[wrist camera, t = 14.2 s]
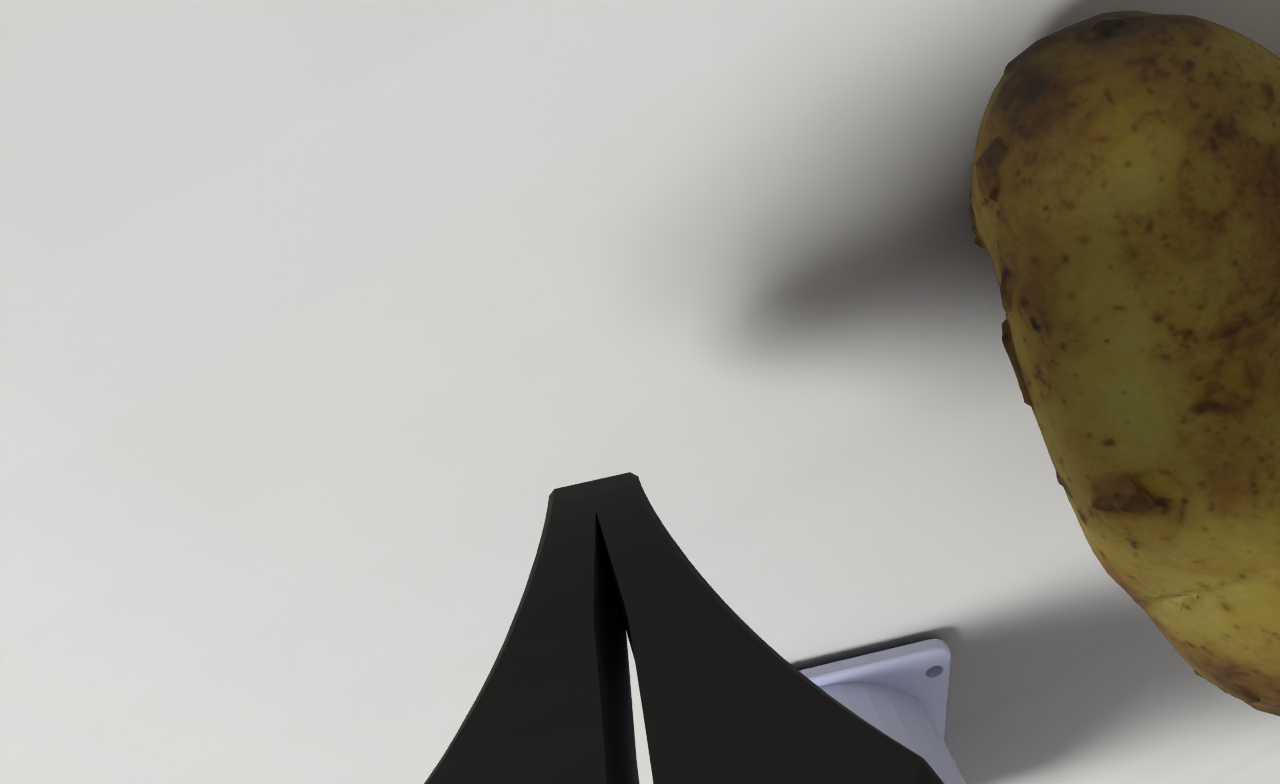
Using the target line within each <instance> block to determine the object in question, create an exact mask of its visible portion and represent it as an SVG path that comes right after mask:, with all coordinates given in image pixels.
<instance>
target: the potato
mask: <svg viewBox="0 0 1280 784" xmlns="http://www.w3.org/2000/svg"><path fill="white" fill-rule="evenodd" d="M970 197H971V205H970V208H969V211H970V215H971V218H972V220H973V222H974V224H973V226H972V229H973V231H974V233H975V235H976V239H975V243H976V244H977V245H979V246H980V247H984V248H986V249H987V251H988V252H989V254H990V256H991V259H992V263H993V266H994V269H995V272H996V276H997V279H998V282H999V286H1000V291H1001V297H1002V303H1003V309H1005V312H1006V317H1007V319H1006V320H1005V321H1004V322H1003V323H1002V341H1003V344H1004V347H1005V349H1006V352H1007V354H1008V356H1009V358H1010V361H1011V364H1012V366H1013V369H1014V371H1015V374H1016V377H1017V380H1018V383H1019V386H1020V390H1021V391H1022V394H1023V398H1024V402H1025V403H1026V404H1028V405H1030V406H1031V407H1032V409H1033V412H1034V414H1035V417H1036V419H1037V422H1038V425H1039V428H1040V430H1041V433H1042V436H1043V438H1044V441H1045V444H1046V446H1047V449H1048V452H1049V454H1050V457H1051V459H1052V462H1053V464H1054V467H1055V469H1056V475H1057V479H1058V482H1059V484H1061V485H1062V486H1063V487H1064V489H1065V492H1066V494H1067V496H1068V499H1069V502H1070V503H1071V505H1072V508H1073V510H1074V512H1075V514H1076V517H1077V519H1078V521H1079V523H1080V526H1081V528H1082V530H1083V532H1084V535H1085V537H1086V539H1087V541H1088V543H1089V545H1090V546H1091V548H1092V550H1093V552H1094V554H1095V555H1096V557H1097V558H1098V560H1099V561H1100V563H1101V564H1102V566H1103V567H1104V569H1105V570H1106V572H1107V573H1108V574H1109V575H1110V576H1111V577H1112V578H1113V579H1114V580H1115V581H1116V582H1117V583H1118V584H1119V585H1120V586H1121V587H1122V588H1123V589H1124V590H1125V591H1126V592H1127V593H1128V594H1129V595H1130V596H1131V597H1132V598H1133V600H1134V601H1135V602H1136V603H1137V604H1139V605H1140V606H1141V607H1142V608H1143V609H1144V611H1145V612H1146V613H1147V614H1148V616H1149V617H1150V618H1151V619H1152V621H1153V622H1154V623H1155V625H1156V626H1157V627H1158V628H1159V630H1160V631H1161V632H1162V633H1163V634H1164V636H1165V637H1166V638H1167V639H1168V640H1169V642H1170V643H1171V644H1172V645H1173V647H1174V648H1175V649H1176V650H1177V651H1178V652H1179V653H1180V654H1181V656H1182V657H1183V658H1184V659H1185V660H1186V661H1187V662H1188V663H1189V664H1190V665H1191V666H1192V667H1193V669H1194V671H1195V673H1196V675H1199V676H1201V677H1203V678H1205V679H1207V680H1208V681H1210V682H1211V683H1213V684H1214V685H1216V686H1217V687H1219V688H1220V689H1221V690H1223V691H1224V692H1226V693H1229V694H1231V695H1232V696H1234V697H1236V698H1238V699H1241V700H1242V701H1244V702H1245V703H1247V704H1248V705H1250V706H1252V707H1253V708H1255V709H1257V710H1259V711H1263V712H1267V713H1270V714H1274V715H1278V716H1280V58H1279V57H1277V56H1276V55H1274V54H1273V53H1271V52H1270V51H1268V50H1267V49H1265V48H1264V47H1262V46H1261V45H1259V44H1257V43H1255V42H1254V41H1252V40H1250V39H1248V38H1247V37H1245V36H1243V35H1241V34H1239V33H1237V32H1234V31H1232V30H1230V29H1228V28H1225V27H1223V26H1221V25H1218V24H1215V23H1212V22H1209V21H1206V20H1203V19H1200V18H1197V17H1195V16H1186V15H1163V14H1151V13H1146V12H1140V11H1122V12H1112V13H1103V14H1100V15H1098V16H1095V17H1092V18H1090V19H1087V20H1084V21H1081V22H1079V23H1077V24H1074V25H1072V26H1070V27H1067V28H1065V29H1063V30H1060V31H1058V32H1056V33H1053V34H1051V35H1049V36H1047V37H1044V38H1042V39H1040V40H1038V41H1036V42H1035V43H1034V44H1032V45H1031V46H1030V47H1028V48H1027V49H1026V50H1025V51H1023V52H1022V53H1021V54H1020V55H1018V56H1017V57H1016V58H1015V59H1013V60H1012V61H1011V62H1009V63H1008V65H1007V66H1006V68H1005V71H1004V75H1003V77H1002V78H1001V80H1000V82H999V83H998V85H997V86H996V88H995V89H994V91H993V93H992V96H991V98H990V101H989V103H988V106H987V108H986V111H985V113H984V116H983V119H982V122H981V126H980V130H979V134H978V138H977V143H976V149H975V154H974V160H973V166H972V190H971V194H970Z"/></svg>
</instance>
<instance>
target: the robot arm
mask: <svg viewBox="0 0 1280 784" xmlns="http://www.w3.org/2000/svg"><path fill="white" fill-rule="evenodd" d="M626 631H627V635H628V638H629V642H630V645H631V649H632V652H633V656H634V659H635V664H636V670H637V676H638V683H639V689H640V696H641V702H642V709H643V715H644V722H645V729H646V735H647V742H648V749H649V756H650V762H651V769H652V776H653V784H966V782H965V781H964V779H963V777H962V775H961V773H960V771H959V769H958V767H957V765H956V763H955V761H954V759H953V757H952V755H951V754H950V752H949V750H948V748H947V746H946V744H945V742H944V733H945V721H946V710H947V698H948V687H949V675H950V664H951V652H950V650H949V648H948V647H947V645H946V643H945V642H944V641H942V640H939V639H929V640H925V641H921V642H916V643H912V644H908V645H904V646H900V647H896V648H891V649H887V650H883V651H879V652H875V653H870V654H866V655H862V656H858V657H854V658H849V659H845V660H841V661H837V662H833V663H828V664H824V665H820V666H816V667H812V668H807V669H803V670H799V671H798V670H797V669H796V668H795V667H793V666H792V665H791V664H790V663H788V662H787V661H786V660H785V659H784V658H782V657H781V656H780V655H779V654H778V653H777V652H776V651H775V650H773V649H772V648H771V647H770V646H769V645H768V644H767V643H766V642H765V641H764V640H762V639H761V638H760V637H759V636H758V635H757V634H756V633H755V632H754V631H753V630H752V629H751V628H750V627H749V626H748V625H747V624H746V623H745V622H744V621H743V620H742V619H741V618H740V617H739V616H738V615H737V614H736V613H735V612H734V611H733V610H732V609H731V608H730V607H729V606H728V605H727V604H726V603H725V602H724V601H723V600H722V599H721V597H720V596H719V595H718V594H717V593H716V592H715V591H714V590H713V588H712V587H711V586H710V585H709V584H708V583H707V582H706V580H705V579H704V578H703V577H702V576H701V575H700V573H699V572H698V571H697V570H696V568H695V567H694V566H693V565H692V564H691V562H690V561H689V560H688V558H687V557H686V556H685V554H684V553H683V552H682V550H681V549H680V548H679V546H678V545H677V544H676V542H675V541H674V540H673V538H672V537H671V535H670V534H669V533H668V531H667V530H666V528H665V527H664V525H663V524H662V522H661V520H660V519H659V517H658V516H657V514H656V513H655V511H654V509H653V507H652V506H651V504H650V502H649V500H648V498H647V497H646V495H645V493H644V490H643V488H642V486H641V483H640V481H639V477H638V476H636V475H634V474H633V473H631V472H629V473H625V474H620V475H616V476H611V477H607V478H602V479H598V480H593V481H589V482H584V483H580V484H575V485H571V486H566V487H562V488H557V489H554V490H553V492H552V493H551V494H550V496H549V501H548V508H547V513H546V519H545V523H544V528H543V532H542V536H541V539H540V543H539V547H538V550H537V554H536V557H535V560H534V563H533V566H532V569H531V572H530V575H529V579H528V582H527V585H526V588H525V591H524V593H523V596H522V599H521V601H520V604H519V606H518V609H517V611H516V614H515V616H514V619H513V621H512V624H511V626H510V629H509V631H508V634H507V636H506V639H505V641H504V643H503V646H502V648H501V650H500V652H499V654H498V657H497V659H496V661H495V663H494V665H493V667H492V669H491V671H490V673H489V675H488V677H487V679H486V681H485V683H484V685H483V687H482V689H481V691H480V693H479V695H478V697H477V699H476V700H475V702H474V704H473V706H472V707H471V709H470V711H469V713H468V714H467V716H466V718H465V720H464V721H463V723H462V725H461V727H460V729H459V730H458V732H457V734H456V736H455V737H454V739H453V740H452V742H451V744H450V745H449V747H448V749H447V750H446V752H445V753H444V755H443V757H442V758H441V760H440V761H439V763H438V764H437V766H436V767H435V769H434V770H433V772H432V773H431V775H430V776H429V777H428V779H427V780H426V782H425V783H424V784H639V777H638V769H637V760H636V748H635V735H634V723H633V710H632V698H631V685H630V673H629V660H628V648H627V636H626Z"/></svg>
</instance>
